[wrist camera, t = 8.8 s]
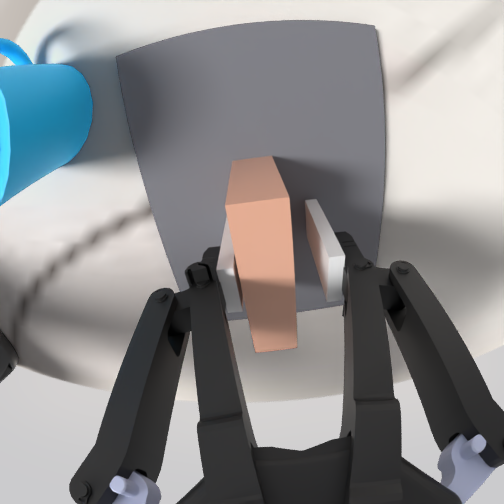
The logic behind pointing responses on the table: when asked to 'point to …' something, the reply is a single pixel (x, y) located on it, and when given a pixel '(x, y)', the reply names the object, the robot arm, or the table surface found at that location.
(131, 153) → the table surface
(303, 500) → the robot arm
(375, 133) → the mat
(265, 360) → the table surface
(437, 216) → the table surface
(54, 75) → the mug
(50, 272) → the table surface
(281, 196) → the block
